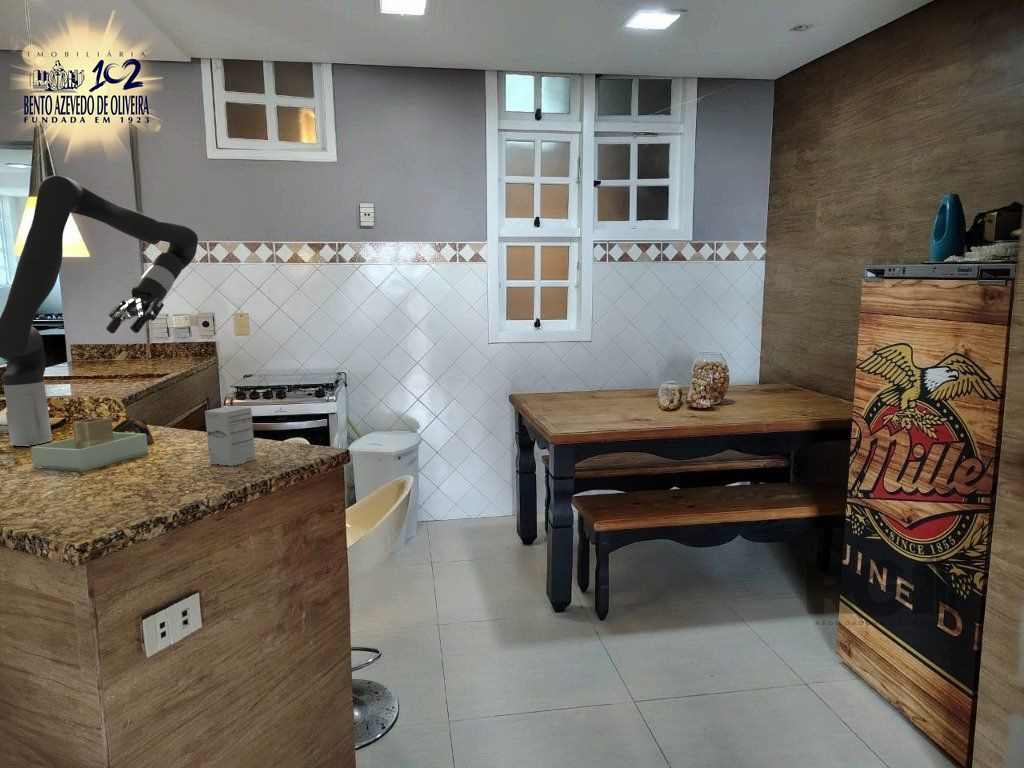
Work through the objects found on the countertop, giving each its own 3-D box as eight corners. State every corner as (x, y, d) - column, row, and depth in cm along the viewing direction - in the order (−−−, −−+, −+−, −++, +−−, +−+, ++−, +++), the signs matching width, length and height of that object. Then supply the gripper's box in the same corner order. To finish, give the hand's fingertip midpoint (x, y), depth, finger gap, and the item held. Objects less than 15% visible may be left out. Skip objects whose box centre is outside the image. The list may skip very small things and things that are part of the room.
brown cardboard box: (77, 458, 166) (72, 422, 165) (99, 452, 172) (95, 417, 171) (93, 459, 164) (88, 422, 163) (115, 453, 170) (111, 418, 169)
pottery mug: (150, 448, 181) (129, 424, 178) (120, 464, 182) (98, 441, 179) (164, 428, 192) (144, 405, 189) (135, 444, 193) (115, 421, 190)
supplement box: (208, 464, 157) (203, 410, 156) (235, 457, 164) (229, 405, 162) (231, 467, 154) (225, 412, 152) (257, 459, 160) (251, 406, 159)
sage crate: (33, 468, 162) (30, 447, 161) (103, 450, 178) (100, 431, 178) (81, 471, 156) (78, 450, 155) (148, 453, 173) (146, 433, 172)
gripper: (124, 277, 185) (91, 322, 176) (164, 274, 180) (131, 320, 171) (143, 296, 191) (112, 341, 182) (182, 294, 186) (151, 340, 177)
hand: (121, 331), depth 176 cm, fingers open, 8 cm apart
